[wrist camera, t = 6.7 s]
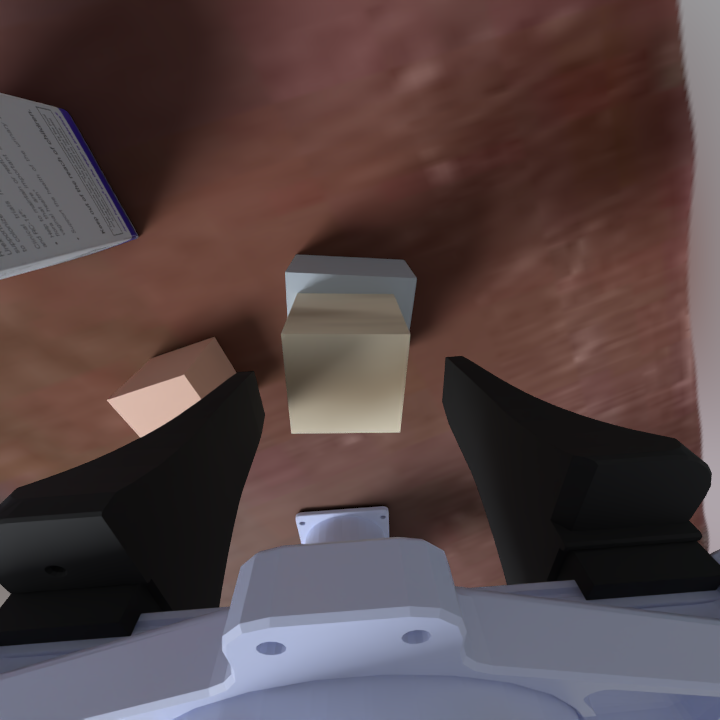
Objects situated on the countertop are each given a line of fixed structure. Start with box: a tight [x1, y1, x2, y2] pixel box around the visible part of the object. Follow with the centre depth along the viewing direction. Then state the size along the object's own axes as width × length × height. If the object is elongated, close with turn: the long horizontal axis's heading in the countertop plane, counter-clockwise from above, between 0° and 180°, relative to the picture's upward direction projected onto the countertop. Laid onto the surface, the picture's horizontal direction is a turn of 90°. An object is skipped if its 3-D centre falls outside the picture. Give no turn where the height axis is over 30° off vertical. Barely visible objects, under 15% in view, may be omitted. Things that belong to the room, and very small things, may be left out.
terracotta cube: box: [107, 337, 236, 438], centre depth 20 cm, size 4×4×4 cm
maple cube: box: [281, 293, 410, 434], centre depth 15 cm, size 4×4×4 cm
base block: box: [285, 254, 417, 331], centre depth 18 cm, size 6×6×4 cm
